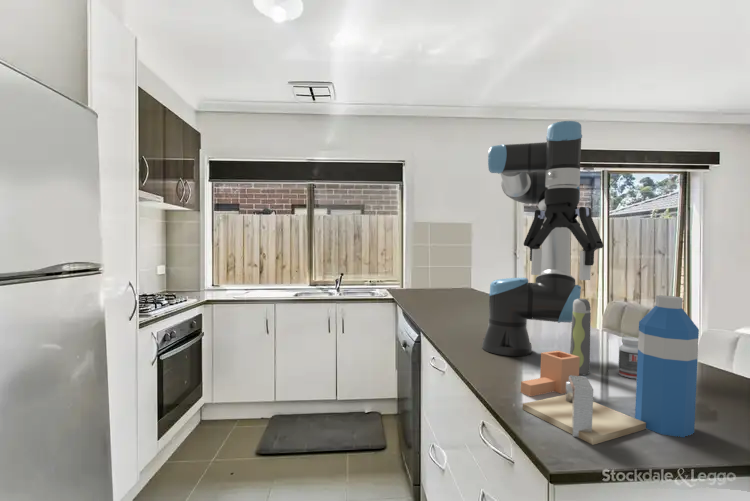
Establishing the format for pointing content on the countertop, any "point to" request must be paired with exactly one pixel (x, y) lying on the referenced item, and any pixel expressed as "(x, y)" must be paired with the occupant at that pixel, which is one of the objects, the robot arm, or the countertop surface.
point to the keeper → (581, 405)
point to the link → (552, 373)
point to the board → (603, 419)
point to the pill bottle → (628, 357)
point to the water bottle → (667, 369)
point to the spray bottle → (581, 334)
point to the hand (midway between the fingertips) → (558, 277)
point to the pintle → (569, 392)
